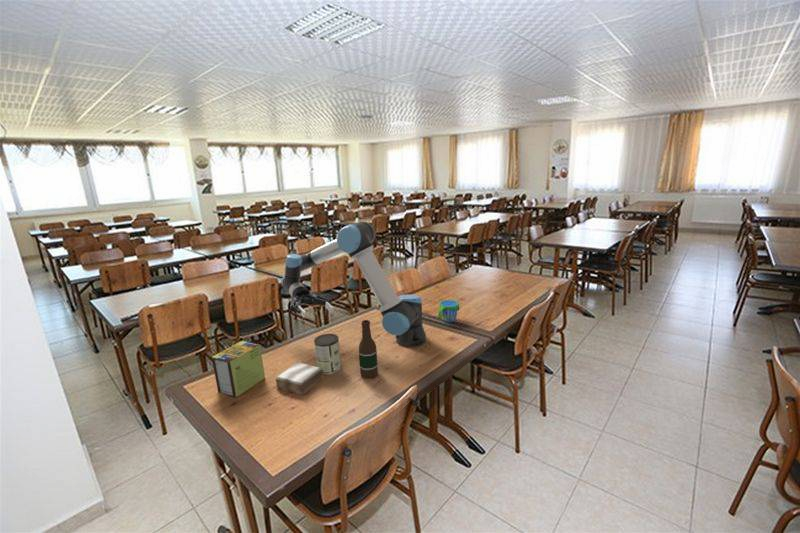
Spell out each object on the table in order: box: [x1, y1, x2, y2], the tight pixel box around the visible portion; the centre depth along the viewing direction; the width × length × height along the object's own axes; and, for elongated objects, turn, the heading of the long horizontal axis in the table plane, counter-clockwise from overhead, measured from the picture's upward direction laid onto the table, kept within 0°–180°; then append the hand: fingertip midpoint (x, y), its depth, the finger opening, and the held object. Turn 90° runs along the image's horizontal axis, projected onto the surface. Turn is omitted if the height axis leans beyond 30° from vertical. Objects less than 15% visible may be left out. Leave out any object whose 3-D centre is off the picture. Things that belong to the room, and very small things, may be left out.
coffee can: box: [313, 333, 342, 375], centre depth 160 cm, size 10×10×14 cm
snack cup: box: [437, 299, 460, 323], centre depth 206 cm, size 16×10×10 cm
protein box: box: [211, 340, 266, 398], centre depth 150 cm, size 10×15×16 cm
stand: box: [275, 362, 324, 396], centre depth 151 cm, size 13×13×5 cm
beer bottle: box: [358, 319, 379, 380], centre depth 153 cm, size 8×8×24 cm
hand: (319, 312), depth 167 cm, fingers open, 13 cm apart
